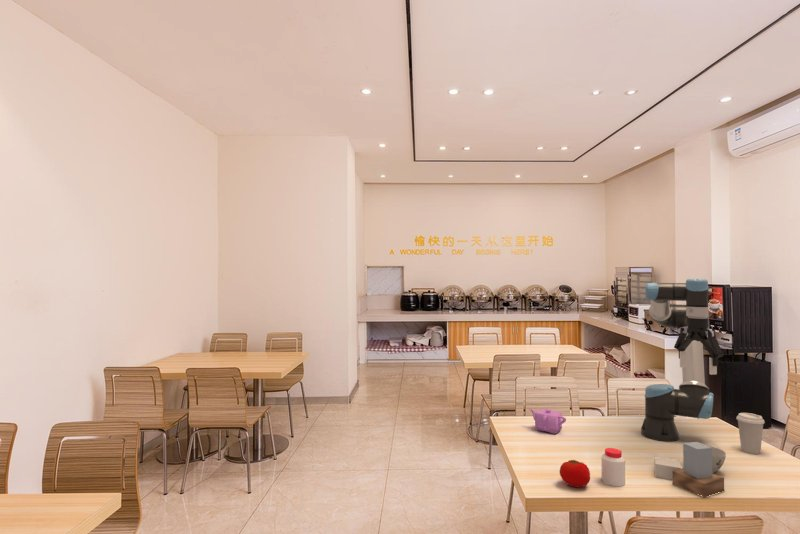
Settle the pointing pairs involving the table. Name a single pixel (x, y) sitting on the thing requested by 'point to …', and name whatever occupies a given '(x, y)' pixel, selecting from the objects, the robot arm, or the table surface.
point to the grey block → (665, 467)
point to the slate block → (697, 460)
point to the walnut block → (698, 483)
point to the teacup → (717, 458)
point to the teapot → (548, 420)
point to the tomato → (575, 473)
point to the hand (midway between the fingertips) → (697, 370)
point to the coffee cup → (750, 432)
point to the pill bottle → (613, 467)
